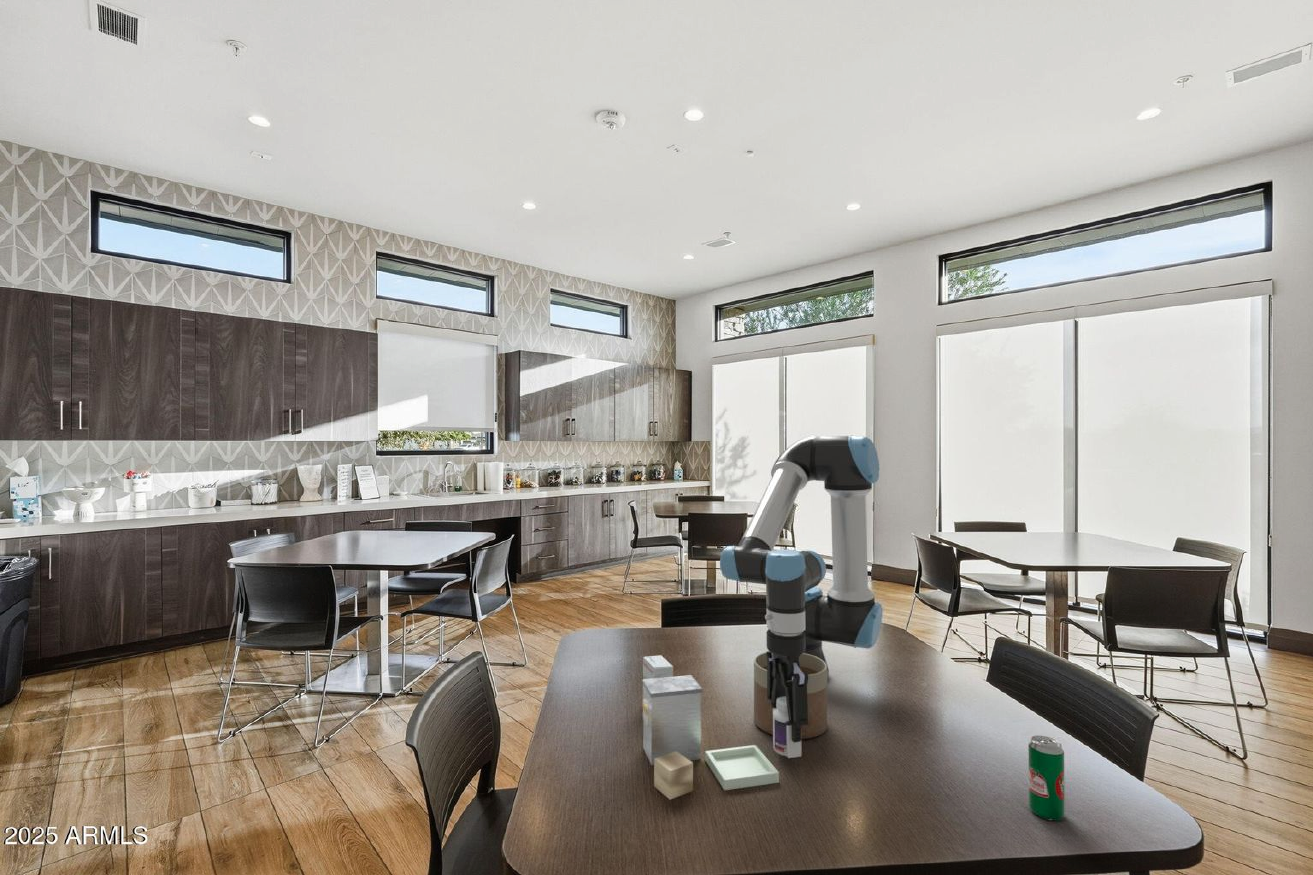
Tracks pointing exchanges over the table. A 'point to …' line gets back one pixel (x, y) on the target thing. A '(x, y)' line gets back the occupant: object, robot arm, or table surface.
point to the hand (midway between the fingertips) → (786, 747)
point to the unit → (672, 717)
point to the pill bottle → (780, 726)
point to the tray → (741, 767)
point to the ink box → (656, 668)
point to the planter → (763, 705)
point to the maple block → (673, 775)
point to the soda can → (1046, 777)
